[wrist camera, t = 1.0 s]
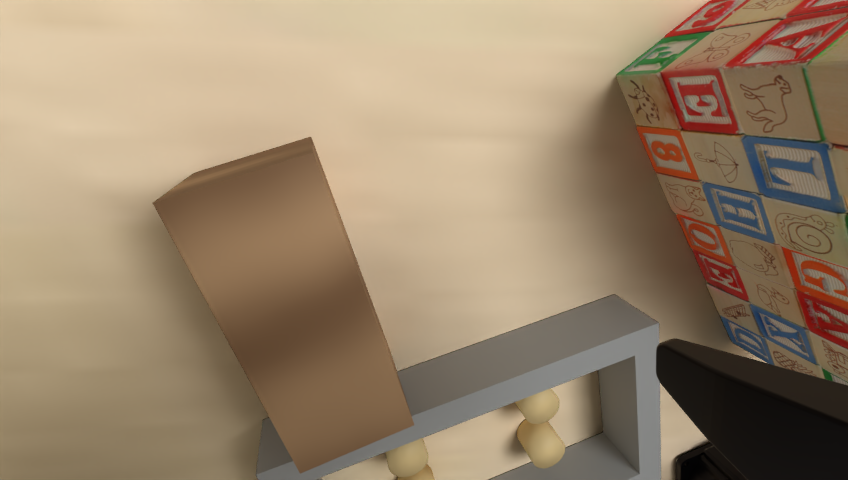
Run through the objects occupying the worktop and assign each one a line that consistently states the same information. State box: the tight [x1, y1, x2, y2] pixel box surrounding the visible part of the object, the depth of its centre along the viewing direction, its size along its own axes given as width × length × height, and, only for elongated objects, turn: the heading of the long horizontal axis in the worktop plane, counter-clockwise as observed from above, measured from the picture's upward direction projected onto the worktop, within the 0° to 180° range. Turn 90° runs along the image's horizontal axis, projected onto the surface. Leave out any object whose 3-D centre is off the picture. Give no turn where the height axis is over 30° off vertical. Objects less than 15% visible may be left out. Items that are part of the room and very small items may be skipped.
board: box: [153, 137, 414, 474], centre depth 18 cm, size 12×5×6 cm, turn 16°
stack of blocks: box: [616, 0, 848, 385], centre depth 20 cm, size 21×6×12 cm, turn 36°
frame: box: [256, 294, 661, 480], centre depth 25 cm, size 12×21×4 cm, turn 103°
